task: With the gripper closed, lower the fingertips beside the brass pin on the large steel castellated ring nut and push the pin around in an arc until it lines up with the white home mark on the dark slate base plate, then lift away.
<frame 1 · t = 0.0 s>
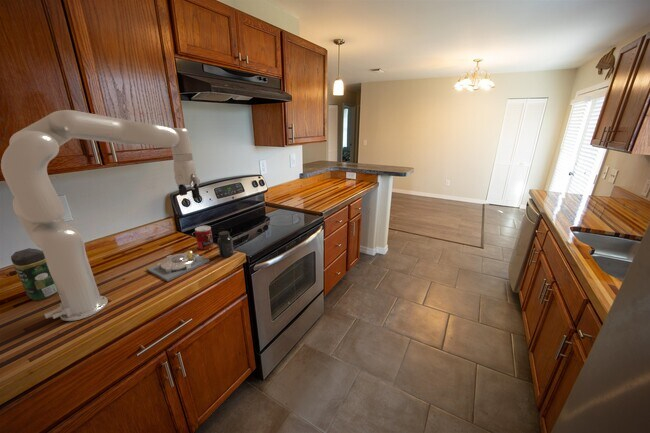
hand: (189, 196, 119), 31 cm above the worktop, tool pointing down, fingers open, 9 cm apart
base plate: (179, 265, 122), on the worktop
ring nut: (177, 257, 120), point 4 cm above the worktop, hinge at -60.0°
coffee jar: (44, 294, 101), on the worktop
supplement bottle: (226, 255, 132), on the worktop
canned food: (206, 247, 141), on the worktop
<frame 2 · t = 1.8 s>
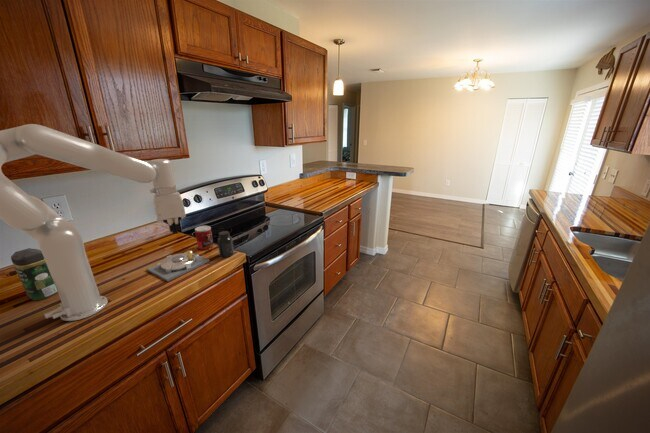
hand: (174, 232, 111), 18 cm above the worktop, tool pointing down, fingers closed
nothing on the worktop moved.
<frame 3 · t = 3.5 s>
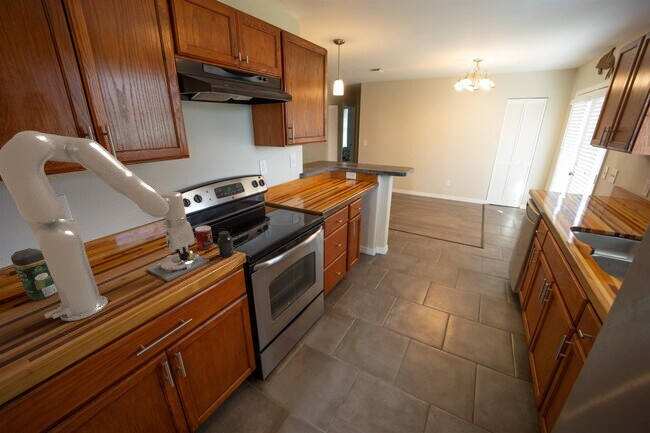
hand: (184, 259, 117), 5 cm above the worktop, tool pointing down, fingers closed
ring nut: (177, 257, 120), point 4 cm above the worktop, hinge at -59.3°, touching gripper
everything else where it was.
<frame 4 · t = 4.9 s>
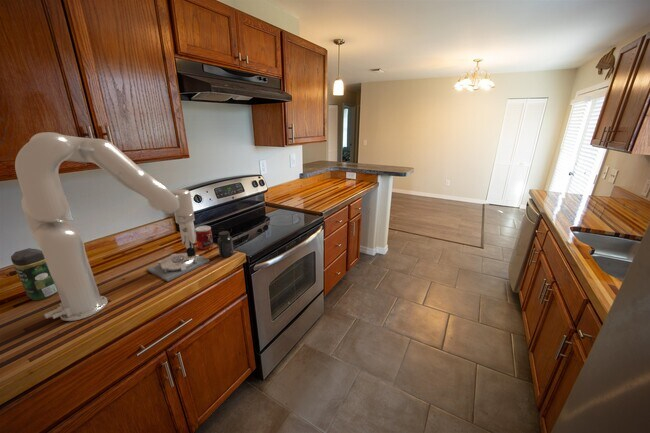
hand: (191, 255, 121), 5 cm above the worktop, tool pointing down, fingers closed
ring nut: (177, 257, 120), point 4 cm above the worktop, hinge at -15.6°, touching gripper
everything else where it was.
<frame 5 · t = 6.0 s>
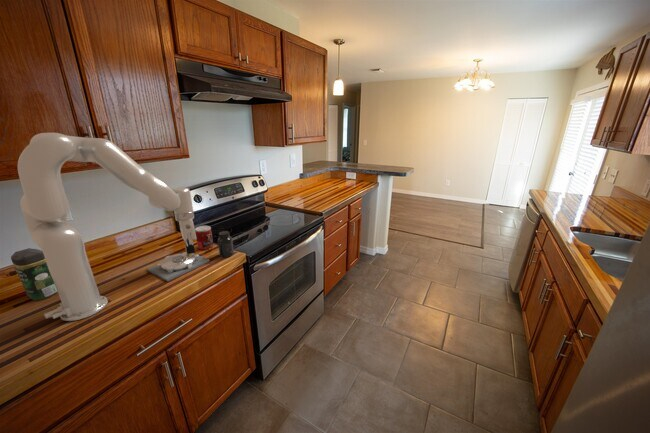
hand: (190, 252, 123), 5 cm above the worktop, tool pointing down, fingers closed
ring nut: (177, 257, 120), point 4 cm above the worktop, hinge at 5.4°
everything else where it was.
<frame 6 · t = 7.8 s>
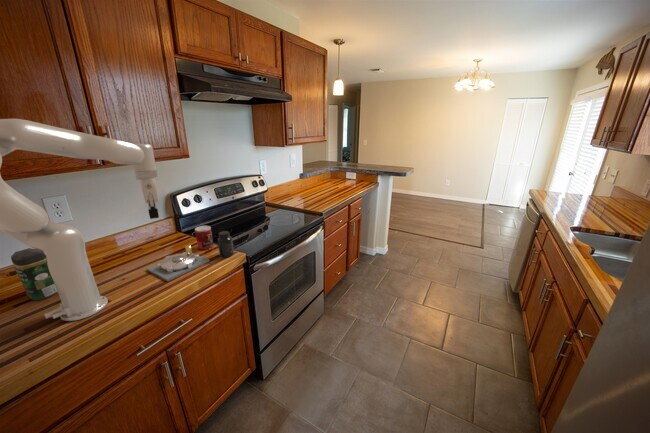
hand: (154, 217, 112), 24 cm above the worktop, tool pointing down, fingers closed
nothing on the worktop moved.
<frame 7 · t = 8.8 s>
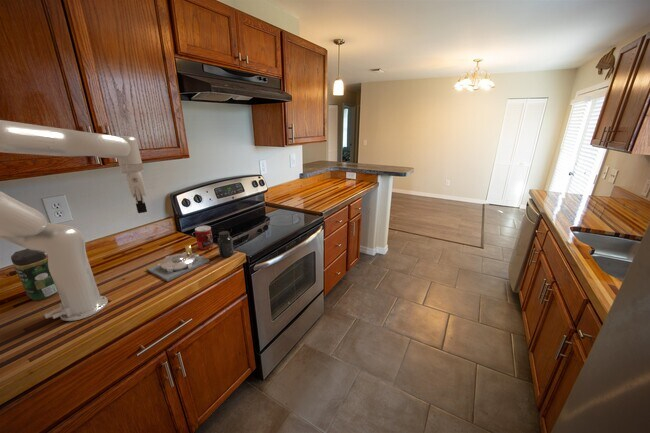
hand: (142, 212, 111), 27 cm above the worktop, tool pointing down, fingers closed
nothing on the worktop moved.
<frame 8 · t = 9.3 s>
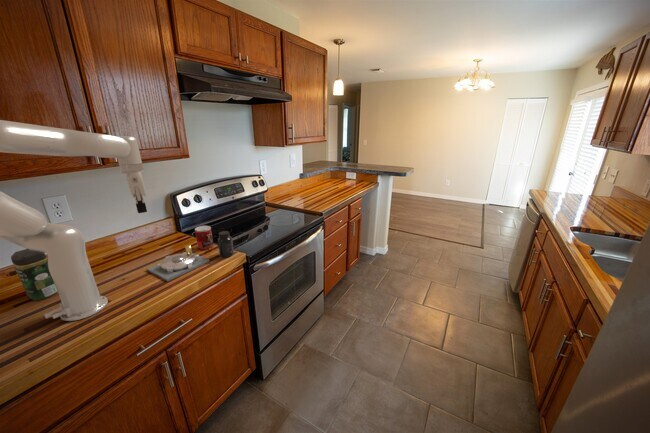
hand: (142, 212, 111), 27 cm above the worktop, tool pointing down, fingers closed
nothing on the worktop moved.
at the end: ring nut at +5° (first picture: -60°) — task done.
